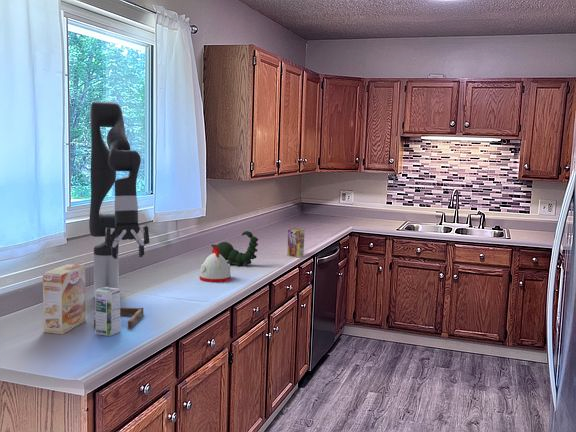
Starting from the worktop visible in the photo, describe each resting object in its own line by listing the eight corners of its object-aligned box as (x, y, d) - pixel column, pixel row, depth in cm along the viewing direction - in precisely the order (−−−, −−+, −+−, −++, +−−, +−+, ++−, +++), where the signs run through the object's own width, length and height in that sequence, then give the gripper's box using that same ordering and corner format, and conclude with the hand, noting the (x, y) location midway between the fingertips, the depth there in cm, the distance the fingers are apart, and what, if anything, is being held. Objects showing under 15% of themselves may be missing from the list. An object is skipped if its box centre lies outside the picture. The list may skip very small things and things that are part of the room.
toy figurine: (257, 268, 303) (214, 259, 312) (261, 231, 300) (217, 223, 309) (250, 272, 294) (205, 262, 303) (254, 234, 291) (208, 225, 300)
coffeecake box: (63, 334, 190) (62, 274, 187) (42, 332, 191) (41, 272, 189) (86, 320, 204) (86, 264, 202) (67, 319, 206) (66, 263, 203)
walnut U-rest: (108, 313, 213) (108, 306, 213) (143, 314, 213) (143, 308, 213) (93, 327, 198) (93, 320, 197) (131, 328, 198) (131, 321, 197)
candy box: (304, 256, 329) (305, 229, 327) (299, 257, 325) (299, 229, 323) (292, 254, 334) (292, 227, 333) (286, 255, 331) (287, 228, 329)
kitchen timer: (204, 283, 262) (205, 249, 260) (196, 276, 274) (196, 244, 272) (234, 281, 268) (235, 248, 266) (225, 274, 280) (225, 243, 278)
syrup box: (94, 334, 191) (94, 289, 189) (106, 329, 197) (106, 285, 195) (109, 336, 189) (109, 292, 187) (121, 331, 194) (120, 287, 193)
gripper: (144, 209, 208) (146, 256, 208) (102, 210, 201) (104, 258, 201) (150, 208, 201) (152, 257, 201) (106, 210, 195) (108, 259, 195)
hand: (128, 257), depth 201 cm, fingers open, 8 cm apart
